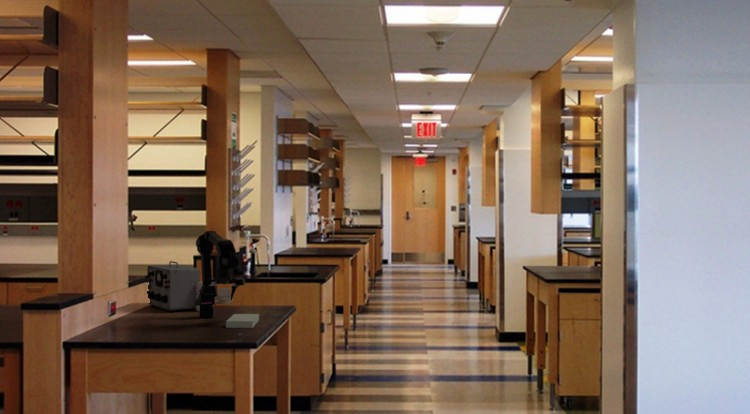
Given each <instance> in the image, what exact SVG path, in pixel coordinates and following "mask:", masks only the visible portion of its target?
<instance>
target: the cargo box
mask: <svg viewBox="0 0 750 414" xmlns="http://www.w3.org/2000/svg"><path fill="white" fill-rule="evenodd" d="M217 293H218V297H228V296H230V295H231V288H230V287H220V288H217Z"/></svg>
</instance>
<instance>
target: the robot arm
mask: <svg viewBox="0 0 750 414" xmlns="http://www.w3.org/2000/svg"><path fill="white" fill-rule="evenodd" d="M195 246H196V249H197V253H198V254H199V255H200V262H201V263H200V264H201V280H202V281H201V282H202V287H201V289H200V293H199V296H198V298H197V305H199V306H200V312H199V316H198V318H199V319H213V318H214V317H215V316H216V315H215V313H216V311H215V310H216V309H215V307H214V306H216V305H217V304H215V297H216V296H218V285H229V284H230V285H231V290H230V295H231V300H232V299H233V300H234V295H235V292H236V290H237V288H238V287H241V286H244V285H246V279H245V278H243V277H241V278H239V277H238V278H235V279H232V277H233V275H232V273H231V271H232V270H231V269H236V268H237V267H238V265H239V263H240V261H239V259H238V257H237V256H236V255H237V250H236V247H235V245H234V243H233V241H232V240H231V239H227V238H223V237H222V236H221V235H219V234H218V233H217V231H214V230H206V231H204V233H203V234H201V235H199V236H198V237H197V239H196V240H195ZM214 246H215V247H214ZM214 250H216V253H217V256H216V257H217V274H216V275H215V278H213V274H212V273H213V272H212V258H211V257H212V253H213V251H214ZM205 302H210V303H205Z"/></svg>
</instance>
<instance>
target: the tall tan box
mask: <svg viewBox="0 0 750 414" xmlns="http://www.w3.org/2000/svg"><path fill="white" fill-rule="evenodd" d="M232 302H234V298H233V299H232V300H231V294H230V296H228V297H218V296H216V297H215V304H216V305H230V303H232Z"/></svg>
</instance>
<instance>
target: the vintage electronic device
mask: <svg viewBox="0 0 750 414" xmlns="http://www.w3.org/2000/svg"><path fill="white" fill-rule="evenodd" d="M171 263H172V264H171ZM146 273H147V274H146V275H145V276H144V278H145V280H146V282H147V283H148V282H149V285H148V289H149V291H147V290H146V291H147V294H148V298H149V299H150V303H149V304H148V305H151V307H152V306H153V307H154V306H156V307H157V308H159V309H163V310H166V311H169V313H175V311H178V310H188V309H190V310H191V311H197V310H196V284H197V282H201V279H200V278H201V270H200V268H198V267H192V266H188V265H182V264H181V265H180V264H179V263H178V262H177V261H173V260H170V261H169V263H168V264H165V265H164V264H163V265H162V264H160V265H159V264H158V265H157V264H155V265H147V272H146ZM147 278H148V280H147ZM146 282H145V283H146ZM147 294H146V295H147ZM153 307H152V308H153Z"/></svg>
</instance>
